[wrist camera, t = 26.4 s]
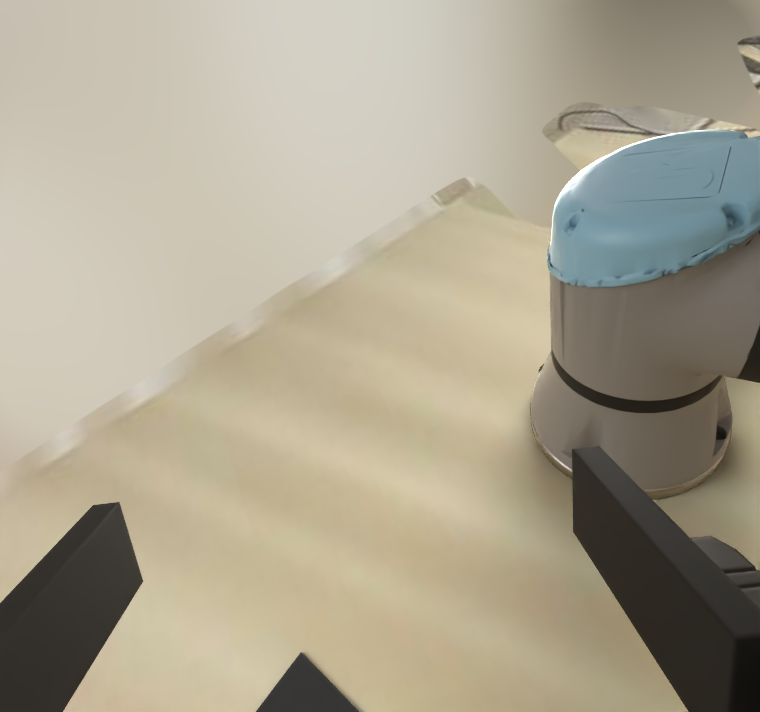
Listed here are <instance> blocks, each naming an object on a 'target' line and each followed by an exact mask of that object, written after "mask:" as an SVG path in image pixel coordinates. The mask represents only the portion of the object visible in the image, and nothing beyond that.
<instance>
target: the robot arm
mask: <svg viewBox="0 0 760 712" xmlns="http://www.w3.org/2000/svg"><path fill="white" fill-rule="evenodd" d="M547 264H548V268H549V271H550V312H551V352H550V354H549V356H548V358H547V360H546V362H545V363H544V364H543V365H542V366H541V367H540V369H539V372H540V371H541V370H542V371H541V373H540V375H539V377H538V378H537V380H536V382H535V385H534V388H533V392H532V396H531V402H530V416H531V426H532V431H533V434H534V437H535V439H536V442H537V444H538V446H539V447H540V449H541V451H542V452H543V453H544V455H545V456H546V457H547V459H548V460H549V461H550V462H551V463H552V464H553V465H554V466H555V467H556V468H557V469H558V470H560V471H561V472H562V473H563V474H565V475H566V476H567V477H569V478H571V479H572V487H573V532H574V534H575V535H576V537H577V538H578V540H579V541H580V543H581V545H582V546H583V548H584V549H585V551H586V552H587V554H588V555H589V557H590V559H591V560H592V562H593V563H594V565H595V566H596V568H597V570H598V571H599V573H600V574H601V576H602V577H603V579H604V580H605V582H606V584H607V585H608V587H609V588H610V590H611V591H612V593H613V594H614V596H615V598H616V599H617V601H618V602H619V604H620V605H621V607H622V609H623V610H624V612H625V613H626V615H627V616H628V618H629V619H630V621H631V623H632V624H633V626H634V627H635V629H636V630H637V632H638V633H639V635H640V637H641V638H642V640H643V641H644V643H645V644H646V646H647V647H648V649H649V651H650V652H651V654H652V655H653V657H654V658H655V660H656V662H657V663H658V665H659V666H660V668H661V669H662V671H663V672H664V674H665V676H666V677H667V679H668V680H669V682H670V683H671V685H672V686H673V688H674V690H675V691H676V693H677V694H678V696H679V697H680V699H681V701H682V702H683V704H684V705H685V707H686V708H687V710H688V711H689V712H760V571H759V570H756V569H755V566H754V565H753V564H751V563H750V562H749V561H748V560H747V559H746V558H745V557H744V556H743V555H742V554H741V553H739V552H738V551H737V550H736V549H734V548H732V547H731V546H729V545H727V544H725V543H723V542H721V541H720V540H718V539H716V538H714V537H712V536H704V537H696V538H689V537H688V536H687V535H686V533H685V532H684V531H683V530H682V529H681V528H680V527H679V526H678V525H677V524H676V523H675V522H674V521H673V520H672V519H671V518H670V517H669V516H668V515H667V514H666V513H665V512H664V511H663V510H662V509H661V508H660V507H659V506H658V505H657V504H656V503H655V502H654V501H653V500H652V499H655V498H662V497H668V496H672V495H676V494H679V493H682V492H684V491H687V490H689V489H691V488H693V487H695V486H697V485H698V484H700V483H702V482H703V481H704V480H706V479H707V478H708V477H709V476H710V475H711V474H712V473H713V472H714V471H715V470H716V469H717V467H718V466H719V464H720V463H721V461H722V459H723V457H724V455H725V452H726V450H727V448H728V445H729V442H730V438H731V432H732V412H731V406H730V402H729V397H728V392H727V387H726V383H725V378H724V376H727V377H731V378H738V379H743V380H748V381H753V382H758V383H760V136H757V137H752V138H747V135H746V134H745V133H744V132H740V131H730V130H700V131H691V132H682V133H676V134H669V135H664V136H660V137H655V138H651V139H648V140H644V141H640V142H637V143H634V144H631V145H629V146H626V147H623V148H621V149H618V150H616V151H615V152H613V153H611V154H609V155H606V156H604V157H602V158H600V159H598V160H596V161H595V162H593V163H591V164H590V165H588V166H587V167H585V168H584V169H583V170H581V171H580V172H579V173H578V174H577V175H576V176H574V177H573V178H572V179H571V180H570V182H569V183H568V184H567V185H566V186H565V188H564V189H563V190H562V192H561V193H560V195H559V197H558V199H557V201H556V203H555V206H554V209H553V215H552V227H551V243H550V246H549V248H548V252H547ZM539 372H538V373H539ZM142 582H143V580H142V576H141V573H140V570H139V566H138V563H137V560H136V556H135V553H134V550H133V546H132V543H131V540H130V536H129V533H128V530H127V526H126V523H125V520H124V516H123V513H122V510H121V506H120V503H119V502H117V503H108V504H100V505H93V506H92V507H91V508H90V509H89V510H88V511H87V512H86V513H85V514H84V516H83V517H82V518H81V519H80V520H79V521H78V522H77V523H76V524H75V525H74V526H73V527H72V528H71V529H70V530H69V531H68V532H67V533H66V534H65V536H64V537H63V538H62V539H61V540H60V541H59V542H58V543H57V544H56V545H55V546H54V547H53V548H52V549H51V550H50V551H49V552H48V553H47V555H46V556H45V557H44V558H43V559H42V560H41V561H40V562H39V563H38V564H37V565H36V566H35V567H34V568H33V569H32V570H31V571H30V572H29V574H28V575H27V576H26V577H25V578H24V579H23V580H22V581H21V582H20V583H19V584H18V585H17V586H16V587H15V588H14V589H13V590H12V591H11V592H10V594H9V595H8V596H7V597H6V598H5V599H4V600H3V601H2V602H1V603H0V712H63V710H64V709H65V707H66V706H67V704H68V702H69V701H70V699H71V697H72V696H73V694H74V693H75V691H76V689H77V688H78V686H79V684H80V683H81V681H82V680H83V678H84V676H85V675H86V673H87V671H88V670H89V668H90V667H91V665H92V663H93V662H94V660H95V658H96V657H97V655H98V654H99V652H100V650H101V649H102V647H103V645H104V644H105V642H106V641H107V639H108V637H109V636H110V634H111V633H112V631H113V629H114V628H115V626H116V624H117V623H118V621H119V620H120V618H121V616H122V615H123V613H124V611H125V610H126V608H127V607H128V605H129V603H130V602H131V600H132V598H133V597H134V595H135V594H136V592H137V590H138V589H139V587H140V585H141V584H142Z"/></svg>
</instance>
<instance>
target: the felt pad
mask: <svg viewBox="0 0 760 712" xmlns="http://www.w3.org/2000/svg"><path fill="white" fill-rule="evenodd" d="M256 712H359V711H358V710H357V709H356V708H355V707H354V706H353V705H352V704H351V703H350V702H349V701H348V700H347V699H346V698H345V697H344V696H343V695H342V694H341V693H340V691H339V690H338V689H337V688H336V687H335V686H334V685H333V684H332V683H331V682H330V681H329V680H328V679H327V678H326V677H325V676H324V675H323V674H322V673H321V672H320V671H319V670H318V669H317V668H316V667H315V666H314V665H313V664H312V663H311V662H310V661H309V660H308V659H307V658H306V656H305V655H304V654H303V653H300V654H299V656H298V657H297V658H296V660H295V661H294V662H293V664H292V665H291V666H290V668H289V669H288V670H287V672H286V673H285V674H284V675H283V677H282V678H281V679H280V681H279V682H278V683H277V685H276V686H275V687H274V689H273V690H272V691H271V693H270V694H269V695H268V697H267V698H266V699H265V701H264V702H263V703H262V704H261V706H260V707H259V708H258V710H257V711H256Z"/></svg>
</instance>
